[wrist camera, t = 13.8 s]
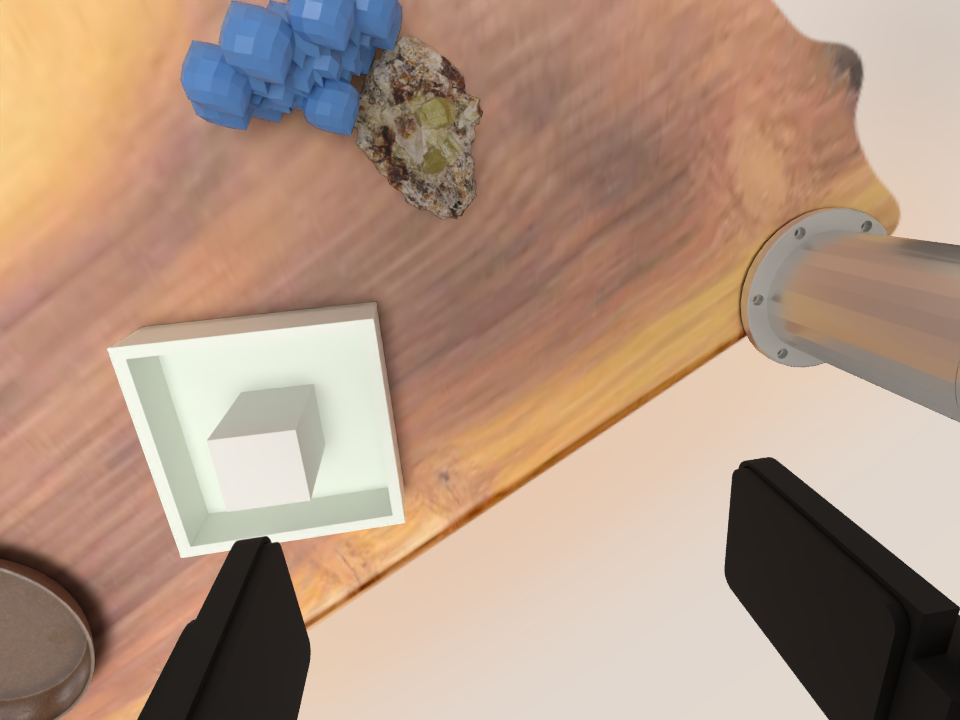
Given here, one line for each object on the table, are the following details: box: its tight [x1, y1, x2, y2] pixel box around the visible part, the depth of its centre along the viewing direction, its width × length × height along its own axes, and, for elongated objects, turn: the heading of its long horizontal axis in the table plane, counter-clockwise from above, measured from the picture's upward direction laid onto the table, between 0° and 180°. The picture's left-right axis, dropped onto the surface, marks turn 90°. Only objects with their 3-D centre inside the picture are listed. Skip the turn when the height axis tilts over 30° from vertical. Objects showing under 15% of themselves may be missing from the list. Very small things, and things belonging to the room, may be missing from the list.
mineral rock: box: [354, 35, 483, 219], centre depth 32 cm, size 11×4×8 cm
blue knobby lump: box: [180, 0, 402, 136], centre depth 26 cm, size 12×7×12 cm, turn 119°
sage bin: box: [107, 302, 405, 558], centre depth 36 cm, size 16×16×4 cm
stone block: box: [207, 384, 325, 512], centre depth 34 cm, size 5×5×7 cm
